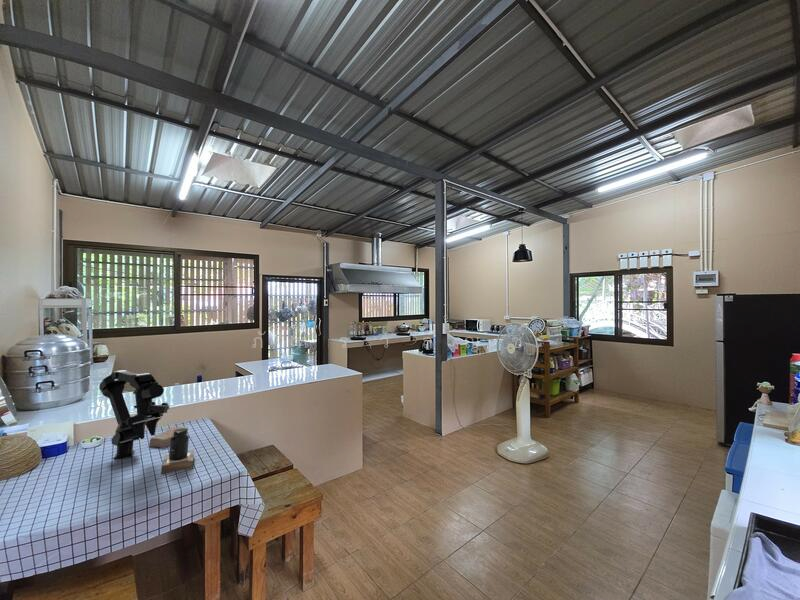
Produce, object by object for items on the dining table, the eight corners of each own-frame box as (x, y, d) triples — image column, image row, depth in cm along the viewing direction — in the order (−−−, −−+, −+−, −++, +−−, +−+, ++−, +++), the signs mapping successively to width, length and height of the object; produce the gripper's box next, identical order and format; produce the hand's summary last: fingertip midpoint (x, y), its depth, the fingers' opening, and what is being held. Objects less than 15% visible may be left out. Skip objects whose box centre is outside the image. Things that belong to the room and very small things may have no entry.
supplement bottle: (165, 461, 135) (167, 433, 135) (172, 454, 141) (174, 427, 142) (183, 460, 136) (186, 432, 137) (190, 453, 143) (192, 426, 144)
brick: (163, 448, 155) (164, 438, 155) (147, 447, 156) (148, 437, 156) (188, 435, 172) (188, 427, 172) (173, 434, 172) (174, 426, 172)
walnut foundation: (164, 462, 140) (164, 455, 141) (193, 457, 146) (194, 450, 146) (161, 473, 131) (161, 465, 131) (192, 467, 137) (193, 460, 137)
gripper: (155, 397, 135) (159, 434, 133) (173, 395, 153) (177, 428, 150) (124, 404, 132) (127, 443, 129) (146, 402, 149) (150, 435, 147)
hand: (147, 437), depth 139 cm, fingers open, 9 cm apart
